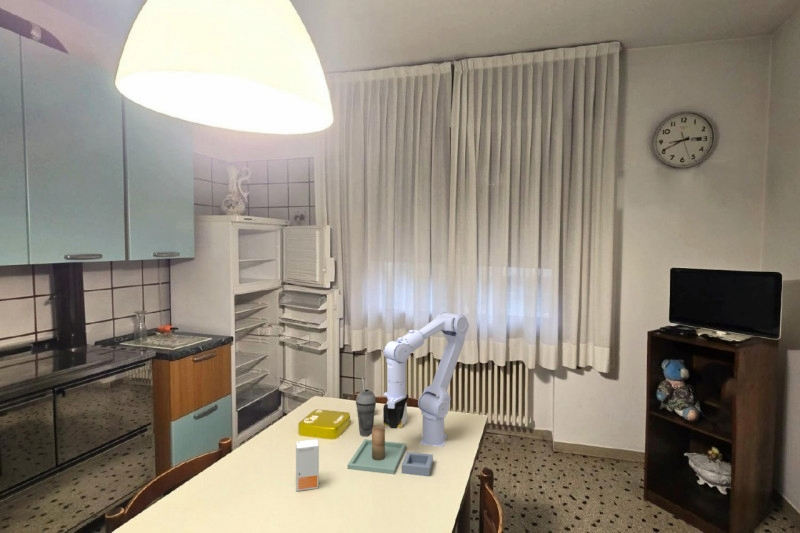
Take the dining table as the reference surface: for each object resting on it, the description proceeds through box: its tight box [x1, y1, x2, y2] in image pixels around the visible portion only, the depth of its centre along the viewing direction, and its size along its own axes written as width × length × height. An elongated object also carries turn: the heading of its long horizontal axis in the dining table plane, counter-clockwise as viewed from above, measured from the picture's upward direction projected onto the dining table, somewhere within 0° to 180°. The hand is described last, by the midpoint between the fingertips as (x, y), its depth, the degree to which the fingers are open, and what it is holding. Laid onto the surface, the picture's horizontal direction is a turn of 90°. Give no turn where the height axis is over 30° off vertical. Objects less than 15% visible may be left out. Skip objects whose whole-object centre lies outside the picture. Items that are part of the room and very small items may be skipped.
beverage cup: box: [355, 377, 377, 437], centre depth 147 cm, size 7×7×20 cm
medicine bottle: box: [382, 398, 408, 429], centre depth 156 cm, size 7×7×12 cm
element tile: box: [297, 409, 351, 440], centre depth 152 cm, size 15×15×5 cm
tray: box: [347, 439, 407, 475], centre depth 129 cm, size 17×14×2 cm
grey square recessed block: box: [401, 451, 434, 477], centre depth 123 cm, size 8×8×3 cm
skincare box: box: [295, 438, 320, 492], centre depth 114 cm, size 6×4×12 cm
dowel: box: [371, 425, 386, 460], centre depth 129 cm, size 4×4×9 cm
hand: (396, 422), depth 131 cm, fingers open, 7 cm apart
